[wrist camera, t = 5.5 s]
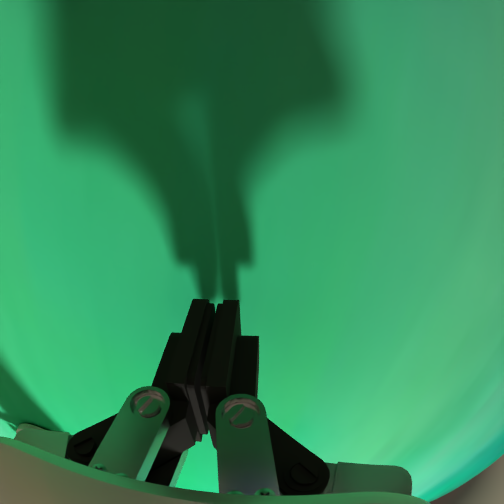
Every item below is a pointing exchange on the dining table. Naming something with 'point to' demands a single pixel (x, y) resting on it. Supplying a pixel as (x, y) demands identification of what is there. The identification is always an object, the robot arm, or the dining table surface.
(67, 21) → the dining table surface
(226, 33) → the dining table surface
